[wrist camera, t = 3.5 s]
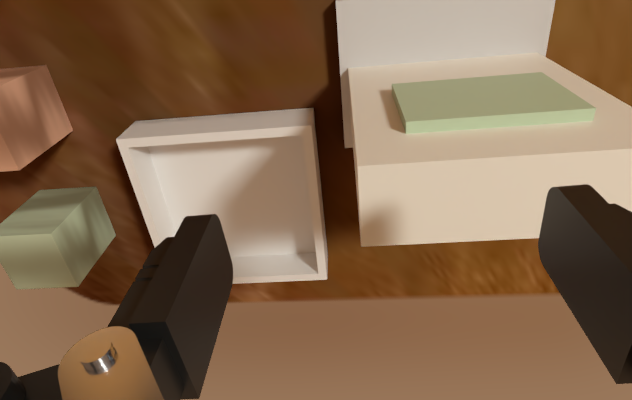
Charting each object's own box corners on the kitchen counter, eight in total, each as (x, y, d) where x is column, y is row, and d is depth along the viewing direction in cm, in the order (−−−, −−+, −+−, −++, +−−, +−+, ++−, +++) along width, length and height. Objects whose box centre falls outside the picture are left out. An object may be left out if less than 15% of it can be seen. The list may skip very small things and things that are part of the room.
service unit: (335, -1, 25) (335, 56, 13) (551, -22, 24) (764, 20, 12) (344, 142, 30) (350, 281, 18) (525, 129, 29) (660, 267, 17)
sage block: (39, 190, 33) (-16, 237, 28) (96, 186, 32) (51, 233, 27) (63, 237, 35) (16, 289, 30) (116, 234, 35) (78, 286, 30)
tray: (135, 121, 29) (115, 139, 27) (313, 107, 28) (311, 125, 26) (180, 260, 36) (168, 286, 33) (327, 253, 35) (327, 279, 32)
